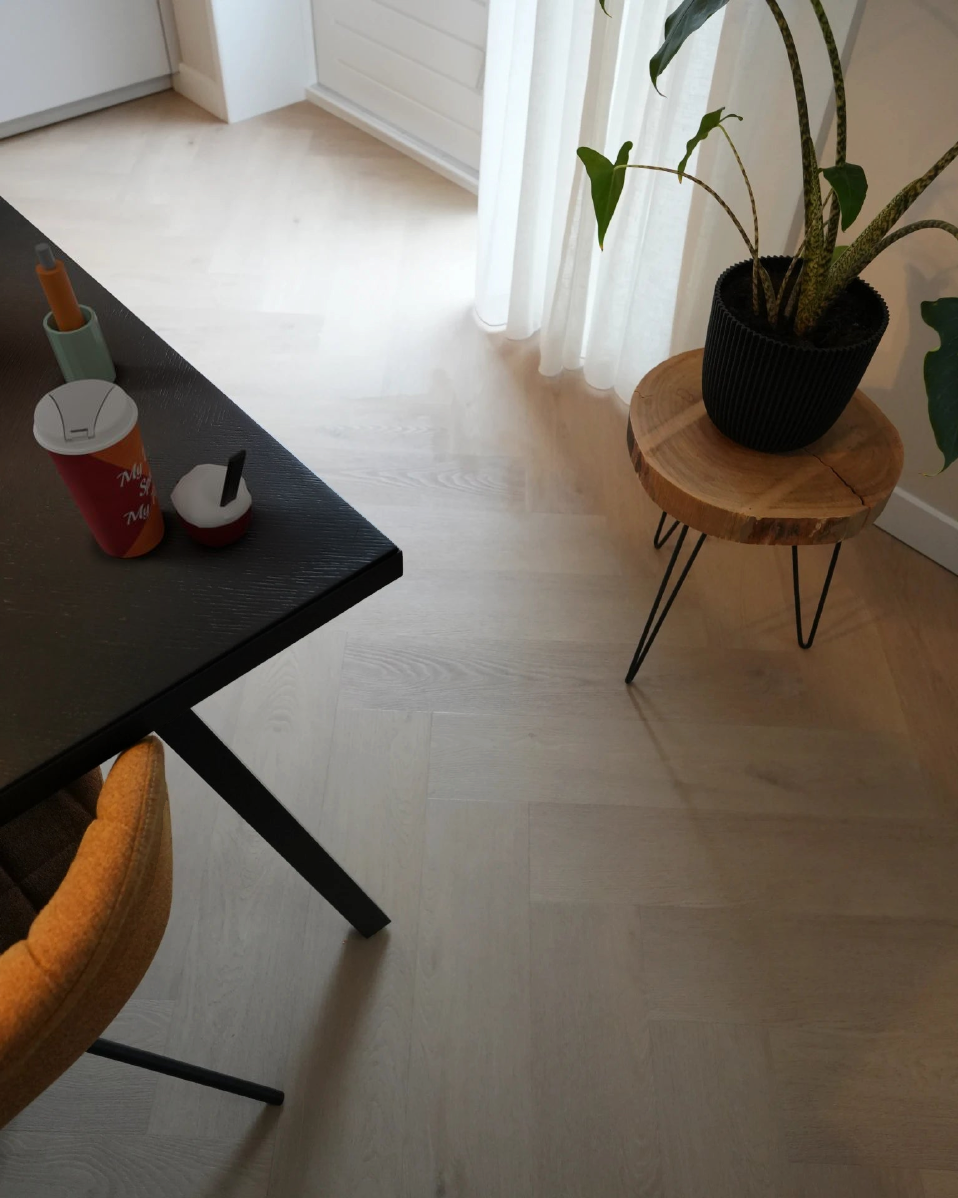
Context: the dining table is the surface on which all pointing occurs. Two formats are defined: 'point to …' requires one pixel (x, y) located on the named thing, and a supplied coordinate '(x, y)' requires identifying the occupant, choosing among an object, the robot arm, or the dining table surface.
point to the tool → (58, 290)
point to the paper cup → (102, 463)
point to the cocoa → (214, 502)
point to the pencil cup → (81, 349)
